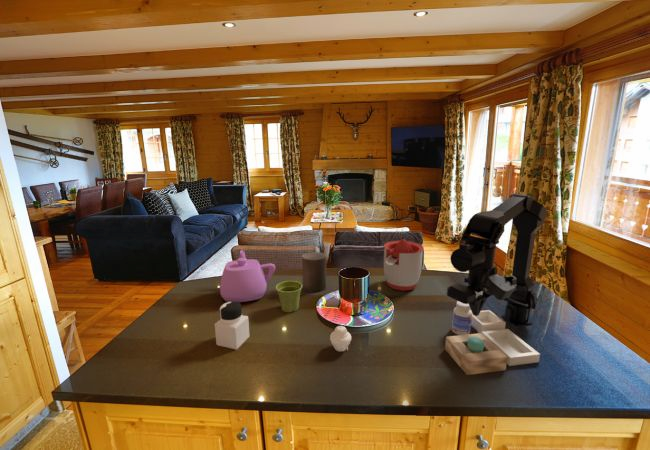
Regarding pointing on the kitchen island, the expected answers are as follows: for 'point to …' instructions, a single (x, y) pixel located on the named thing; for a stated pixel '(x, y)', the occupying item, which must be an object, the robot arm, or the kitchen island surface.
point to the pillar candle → (314, 271)
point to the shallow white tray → (512, 347)
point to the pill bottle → (462, 319)
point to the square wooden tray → (475, 355)
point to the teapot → (244, 279)
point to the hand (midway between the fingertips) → (475, 315)
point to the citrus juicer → (402, 264)
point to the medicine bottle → (232, 326)
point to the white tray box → (487, 322)
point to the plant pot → (289, 295)
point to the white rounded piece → (340, 338)
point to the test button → (475, 344)
